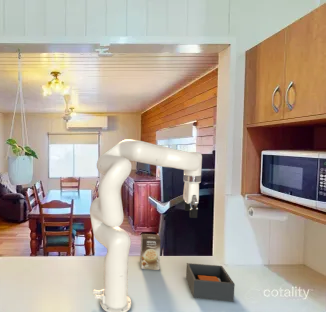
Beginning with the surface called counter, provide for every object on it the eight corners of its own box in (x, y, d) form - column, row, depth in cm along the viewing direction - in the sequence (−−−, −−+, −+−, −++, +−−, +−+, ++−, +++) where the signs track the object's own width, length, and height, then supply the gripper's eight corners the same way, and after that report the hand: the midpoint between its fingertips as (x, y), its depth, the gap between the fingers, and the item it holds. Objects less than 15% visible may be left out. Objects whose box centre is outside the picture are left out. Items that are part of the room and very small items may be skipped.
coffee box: (141, 269, 123) (141, 238, 122) (139, 262, 130) (140, 233, 128) (159, 270, 123) (160, 239, 121) (157, 263, 129) (158, 234, 127)
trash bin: (193, 297, 102) (194, 280, 101) (186, 278, 116) (186, 263, 115) (233, 301, 100) (234, 284, 99) (221, 281, 113) (222, 265, 112)
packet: (200, 290, 106) (200, 281, 105) (197, 283, 111) (197, 275, 110) (222, 292, 104) (223, 283, 104) (218, 285, 109) (218, 276, 109)
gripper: (180, 175, 124) (178, 207, 125) (188, 182, 107) (186, 220, 108) (195, 175, 122) (194, 208, 124) (206, 182, 105) (204, 221, 107)
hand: (190, 213), depth 116 cm, fingers open, 9 cm apart
